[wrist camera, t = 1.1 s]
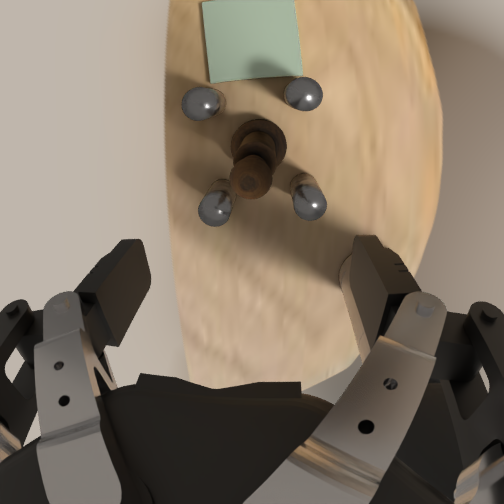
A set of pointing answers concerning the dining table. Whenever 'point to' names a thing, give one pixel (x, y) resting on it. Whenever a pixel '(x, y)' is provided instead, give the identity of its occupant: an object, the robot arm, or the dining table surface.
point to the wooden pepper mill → (256, 157)
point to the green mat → (251, 39)
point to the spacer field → (221, 193)
